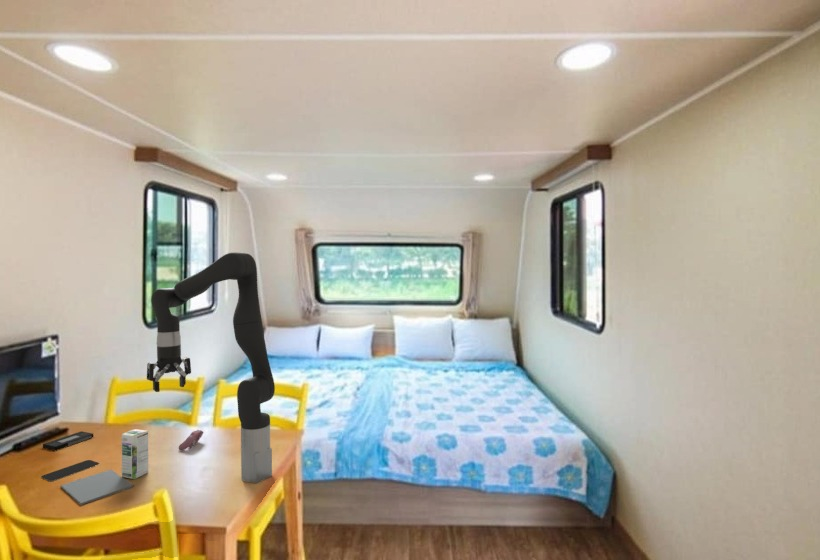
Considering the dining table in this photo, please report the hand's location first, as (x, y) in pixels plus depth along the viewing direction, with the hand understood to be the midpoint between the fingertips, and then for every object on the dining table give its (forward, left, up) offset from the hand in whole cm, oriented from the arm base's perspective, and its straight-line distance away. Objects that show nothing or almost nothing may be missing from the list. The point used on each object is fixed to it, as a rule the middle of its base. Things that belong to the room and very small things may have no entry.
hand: (169, 389), depth 161 cm
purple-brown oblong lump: (+8, -12, -26) cm, 30 cm away
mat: (-1, +23, -26) cm, 35 cm away
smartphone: (+20, +24, -27) cm, 41 cm away
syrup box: (-1, +12, -26) cm, 29 cm away
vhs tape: (+50, +16, -27) cm, 59 cm away
